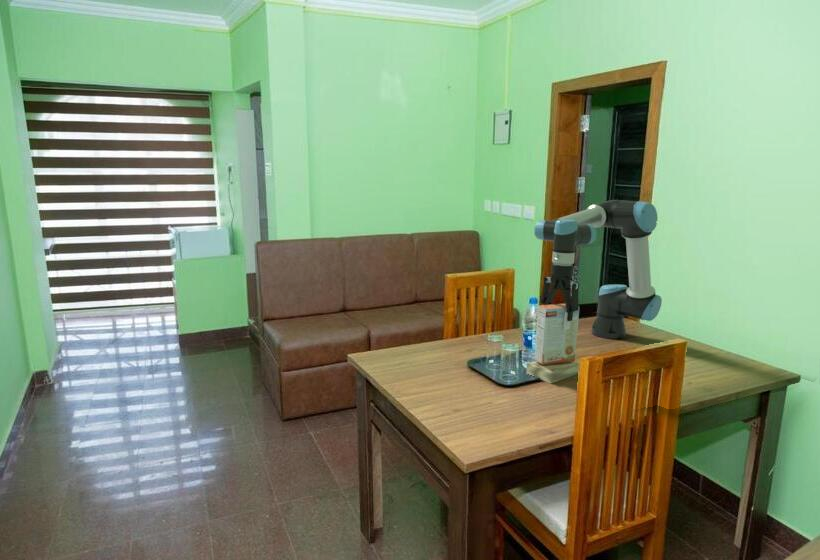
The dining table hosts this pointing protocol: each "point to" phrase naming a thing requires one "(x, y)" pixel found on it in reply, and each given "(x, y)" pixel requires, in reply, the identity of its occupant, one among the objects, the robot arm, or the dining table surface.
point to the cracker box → (555, 335)
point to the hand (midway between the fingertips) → (557, 326)
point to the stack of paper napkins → (552, 370)
